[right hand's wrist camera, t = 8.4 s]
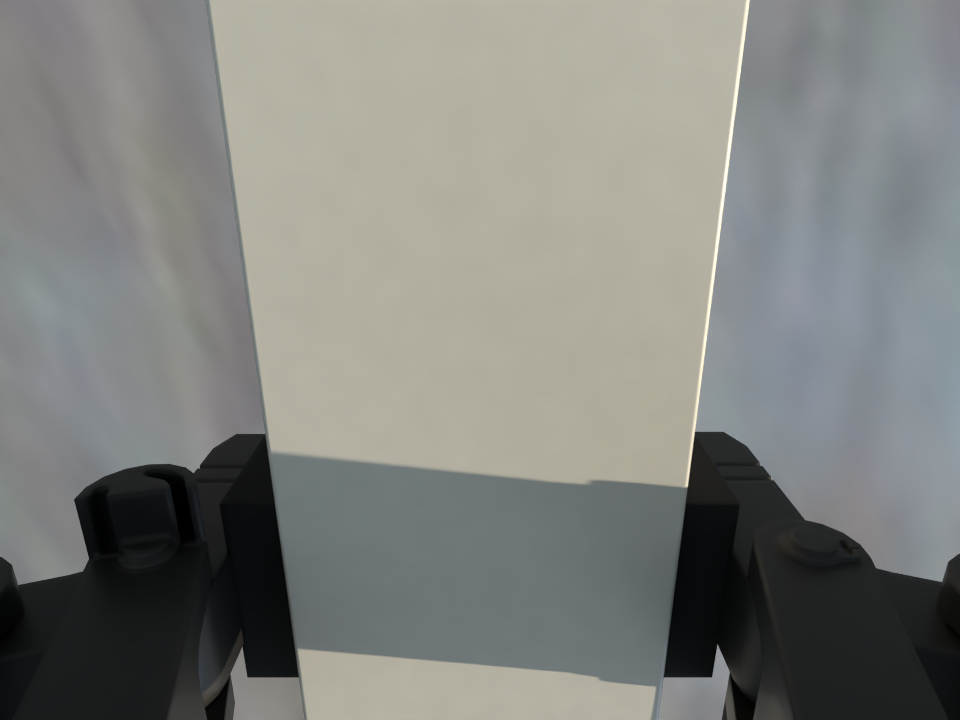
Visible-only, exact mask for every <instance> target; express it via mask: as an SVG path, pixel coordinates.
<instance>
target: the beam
mask: <svg viewBox="0 0 960 720" xmlns="http://www.w3.org/2000/svg"><path fill="white" fill-rule="evenodd" d="M749 1H750V0H206V7H207V14H208V21H209V28H210V36H211V43H212V50H213V57H214V65H215V72H216V79H217V86H218V94H219V101H220V108H221V115H222V123H223V130H224V137H225V144H226V152H227V159H228V166H229V173H230V181H231V188H232V195H233V202H234V210H235V217H236V224H237V231H238V239H239V246H240V253H241V260H242V268H243V275H244V282H245V289H246V297H247V304H248V311H249V318H250V326H251V333H252V340H253V347H254V355H255V362H256V369H257V377H258V384H259V391H260V398H261V406H262V413H263V420H264V427H265V435H266V442H267V449H268V456H269V464H270V471H271V478H272V485H273V493H274V500H275V507H276V514H277V522H278V529H279V536H280V543H281V551H282V558H283V565H284V572H285V580H286V587H287V594H288V601H289V609H290V616H291V623H292V630H293V638H294V645H295V652H296V659H297V667H298V674H299V681H300V688H301V696H302V703H303V710H304V717H305V720H658V717H659V709H660V701H661V693H662V686H663V678H664V670H665V662H666V654H667V646H668V638H669V631H670V623H671V615H672V607H673V599H674V591H675V583H676V575H677V568H678V560H679V552H680V544H681V536H682V528H683V520H684V512H685V505H686V497H687V489H688V481H689V473H690V465H691V457H692V450H693V442H694V434H695V426H696V418H697V410H698V402H699V394H700V387H701V379H702V371H703V363H704V355H705V347H706V339H707V331H708V324H709V316H710V308H711V300H712V292H713V284H714V276H715V269H716V261H717V253H718V245H719V237H720V229H721V221H722V213H723V206H724V198H725V190H726V182H727V174H728V166H729V158H730V151H731V143H732V135H733V127H734V119H735V111H736V103H737V95H738V88H739V80H740V72H741V64H742V56H743V48H744V40H745V32H746V25H747V17H748V9H749Z"/></svg>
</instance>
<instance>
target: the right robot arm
mask: <svg viewBox="0 0 960 720" xmlns="http://www.w3.org/2000/svg"><path fill="white" fill-rule="evenodd" d="M74 501H75V504H76V508H77V512H78V516H79V520H80V524H81V528H82V532H83V536H84V540H85V544H86V548H87V552H88V556H89V560H88V563H87V565H86V567H85V569H84V571H83V572H79V573H75V574H71V575H67V576H62V577H57V578H52V579H47V580H42V581H37V582H32V583H27V584H22V585H18V583H17V580H16V577H15V574H14V570H13V567H12V565H11V564H10V563H9V562H7V561H6V560H5V559H3V558H2V557H0V720H233V714H234V705H235V700H234V693H233V687H232V681H231V675H230V673H231V671H232V669H233V666H234V664H235V662H236V659H237V657H238V655H239V653H240V650H241V648H242V646H243V652H244V658H245V664H246V670H247V677H299V674H298V667H297V659H296V652H295V645H294V638H293V630H292V623H291V616H290V609H289V601H288V594H287V587H286V580H285V572H284V565H283V558H282V551H281V543H280V536H279V529H278V522H277V514H276V507H275V500H274V493H273V485H272V478H271V471H270V464H269V456H268V449H267V442H266V435H265V434H236V435H234V436H233V437H231V438H229V439H228V440H226V441H225V442H223V443H221V444H220V445H218V446H216V447H215V448H213V449H212V451H211V452H210V453H209V455H208V456H207V457H206V458H205V460H204V461H203V462H202V463H201V465H200V469H197V470H196V471H195V472H194V473H192V472H191V471H190V470H188V469H187V468H185V467H181V466H176V465H171V464H151V465H144V466H139V467H133V468H128V469H124V470H122V471H119V472H116V473H113V474H111V475H108V476H105V477H103V478H101V479H99V480H98V481H96V482H94V483H93V484H91V485H89V486H87V487H86V488H85V489H84V490H83V491H82V492H81V493H80V494H79V495H78V496H77V497H76V498H75V499H74ZM717 644H718V646H719V648H720V650H721V653H722V655H723V657H724V659H725V662H726V664H727V666H728V668H729V671H730V675H729V681H728V687H727V692H726V698H725V704H724V710H723V715H722V720H960V554H958V555H957V556H956V557H954V558H953V559H952V560H950V561H949V562H948V565H947V568H946V572H945V575H944V578H943V582H938V581H933V580H928V579H923V578H918V577H913V576H908V575H903V574H898V573H892V572H888V571H884V570H881V569H877V568H875V566H874V563H873V561H872V559H871V558H870V556H869V555H868V554H867V553H866V551H865V550H864V549H863V548H862V546H861V545H860V544H858V543H857V542H855V541H854V540H853V539H851V538H850V537H848V536H847V535H845V534H844V533H842V532H840V531H837V530H835V529H832V528H830V527H828V526H825V525H823V524H819V523H815V522H810V521H806V520H804V518H803V517H802V516H801V515H800V513H799V512H798V511H797V509H796V508H795V507H794V506H793V504H792V503H791V502H790V501H789V499H788V498H787V497H786V495H785V494H784V493H783V492H782V490H781V489H780V488H779V487H778V485H777V484H776V483H775V482H774V480H771V476H770V475H769V474H768V473H767V471H766V470H765V469H764V468H763V466H760V462H759V461H758V460H757V459H756V457H755V456H754V455H753V454H752V452H751V451H750V450H749V449H748V447H747V446H745V445H744V444H742V443H741V442H739V441H737V440H736V439H734V438H732V437H731V436H729V435H728V434H726V433H724V432H695V434H694V442H693V450H692V457H691V465H690V473H689V481H688V489H687V497H686V505H685V512H684V520H683V528H682V536H681V544H680V552H679V560H678V568H677V575H676V583H675V591H674V599H673V607H672V615H671V623H670V631H669V638H668V646H667V654H666V662H665V670H664V677H712V674H713V668H714V662H715V655H716V649H717Z"/></svg>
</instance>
